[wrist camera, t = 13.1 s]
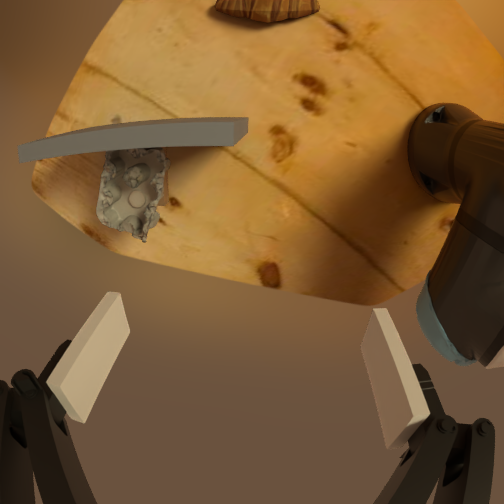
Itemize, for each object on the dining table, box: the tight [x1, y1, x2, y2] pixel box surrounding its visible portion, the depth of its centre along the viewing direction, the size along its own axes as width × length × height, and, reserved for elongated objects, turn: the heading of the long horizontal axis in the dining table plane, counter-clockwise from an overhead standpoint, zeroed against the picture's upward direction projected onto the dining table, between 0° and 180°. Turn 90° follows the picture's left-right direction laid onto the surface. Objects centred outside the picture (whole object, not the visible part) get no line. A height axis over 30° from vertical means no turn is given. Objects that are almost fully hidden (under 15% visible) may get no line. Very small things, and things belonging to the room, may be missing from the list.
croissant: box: [215, 0, 320, 23], centre depth 27 cm, size 14×7×5 cm, turn 90°
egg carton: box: [96, 147, 171, 243], centre depth 31 cm, size 11×8×4 cm
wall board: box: [18, 117, 248, 206], centre depth 32 cm, size 24×10×16 cm, turn 88°
